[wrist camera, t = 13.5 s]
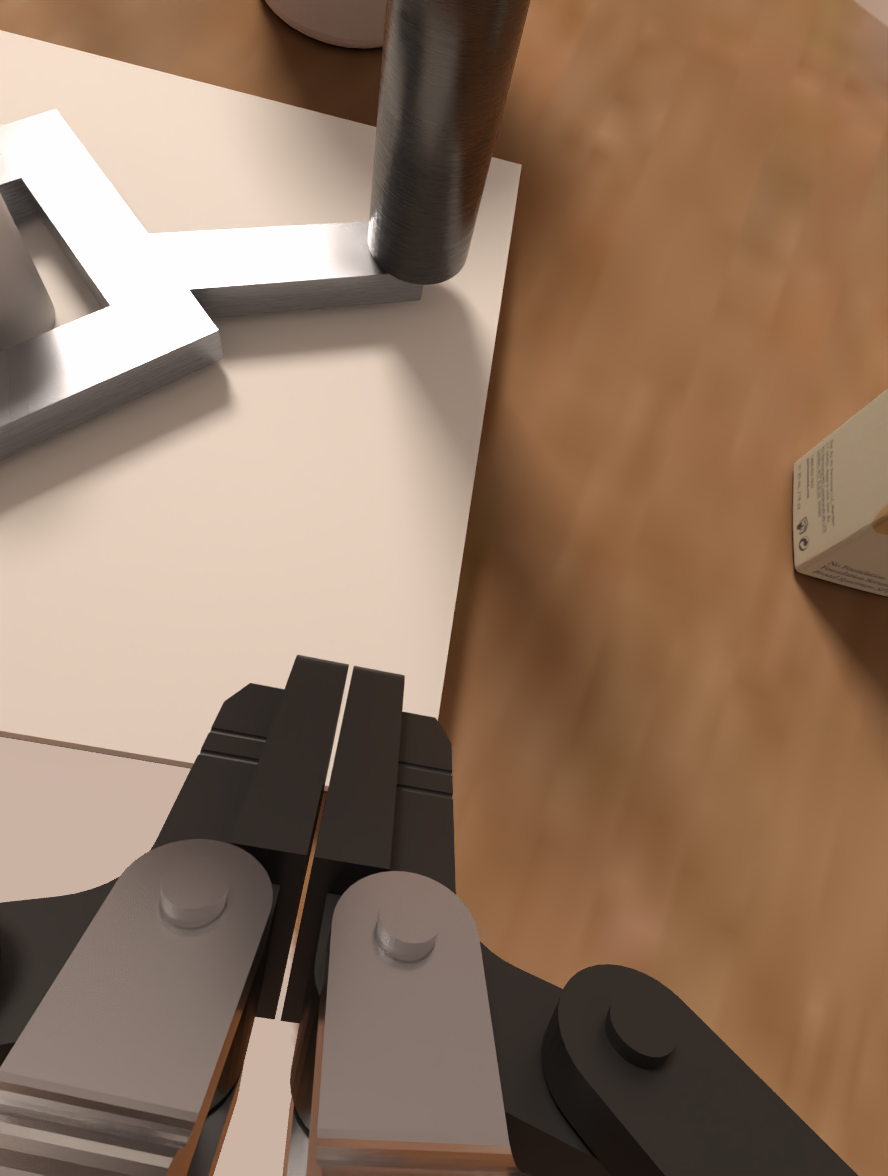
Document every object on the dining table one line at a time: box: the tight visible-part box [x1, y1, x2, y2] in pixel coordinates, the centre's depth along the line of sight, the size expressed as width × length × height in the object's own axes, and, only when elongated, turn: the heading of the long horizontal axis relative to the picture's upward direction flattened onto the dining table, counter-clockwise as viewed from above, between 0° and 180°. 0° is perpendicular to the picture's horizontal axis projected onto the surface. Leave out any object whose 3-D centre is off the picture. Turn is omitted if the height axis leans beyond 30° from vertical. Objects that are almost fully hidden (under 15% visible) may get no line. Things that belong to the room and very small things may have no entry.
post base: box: [0, 30, 522, 791], centre depth 19 cm, size 26×22×7 cm
